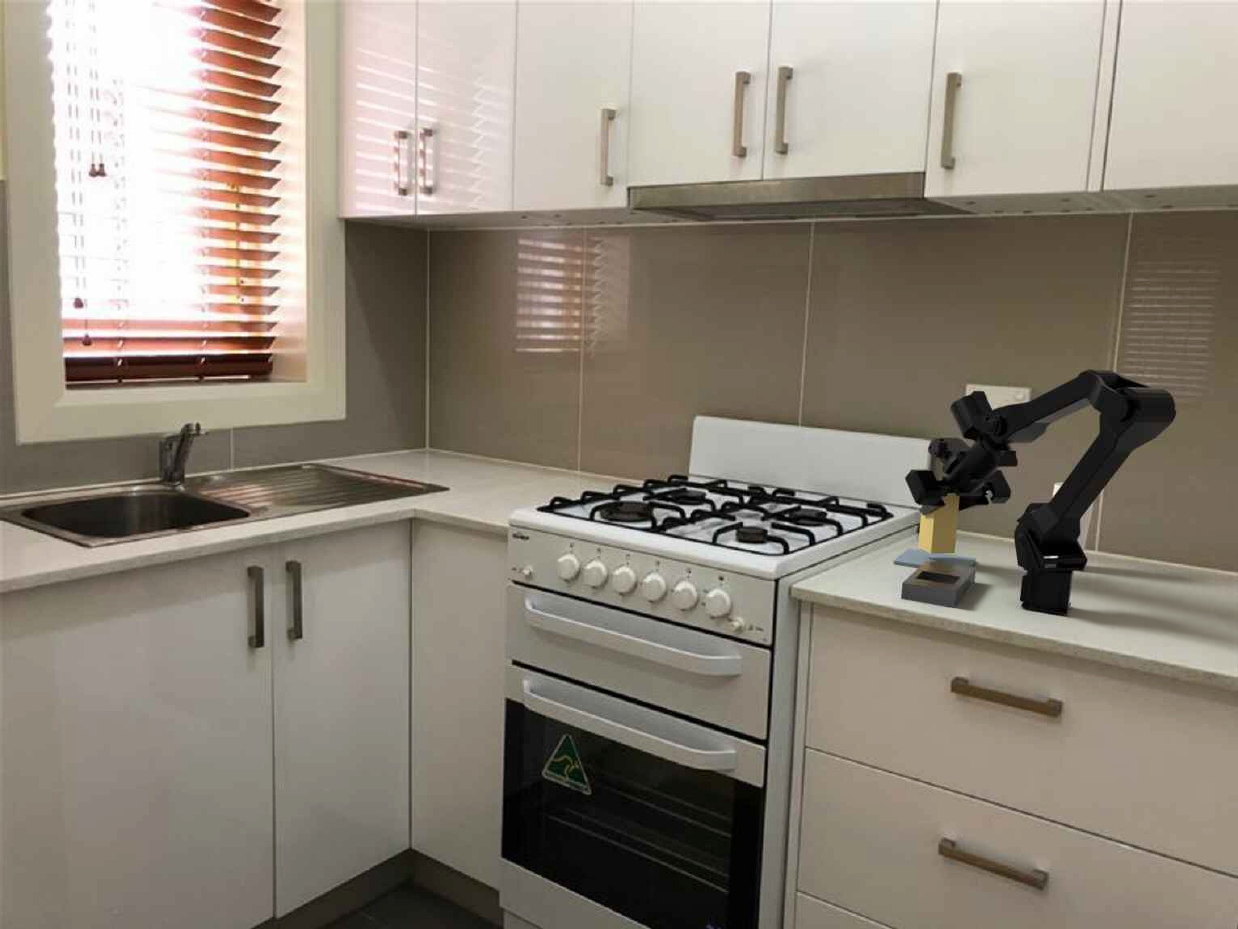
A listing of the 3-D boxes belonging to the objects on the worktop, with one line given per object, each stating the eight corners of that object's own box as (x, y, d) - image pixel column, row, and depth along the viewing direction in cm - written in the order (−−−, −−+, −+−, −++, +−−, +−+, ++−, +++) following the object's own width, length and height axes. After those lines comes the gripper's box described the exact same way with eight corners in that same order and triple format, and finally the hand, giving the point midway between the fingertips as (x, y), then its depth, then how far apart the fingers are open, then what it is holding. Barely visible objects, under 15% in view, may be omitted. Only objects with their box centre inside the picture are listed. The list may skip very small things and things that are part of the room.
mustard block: (954, 553, 176) (959, 492, 175) (930, 553, 176) (935, 492, 174) (941, 547, 181) (946, 487, 179) (918, 547, 180) (923, 487, 178)
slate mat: (975, 561, 181) (975, 558, 181) (963, 575, 171) (963, 571, 170) (908, 551, 187) (909, 548, 187) (893, 563, 176) (893, 560, 176)
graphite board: (974, 582, 166) (976, 567, 166) (954, 607, 150) (955, 591, 150) (925, 574, 170) (927, 560, 169) (901, 598, 154) (902, 582, 154)
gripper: (1007, 424, 174) (961, 476, 186) (916, 423, 168) (875, 477, 180) (1034, 476, 168) (984, 526, 180) (940, 476, 162) (896, 528, 174)
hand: (935, 513), depth 179 cm, fingers closed on mustard block, 5 cm apart
